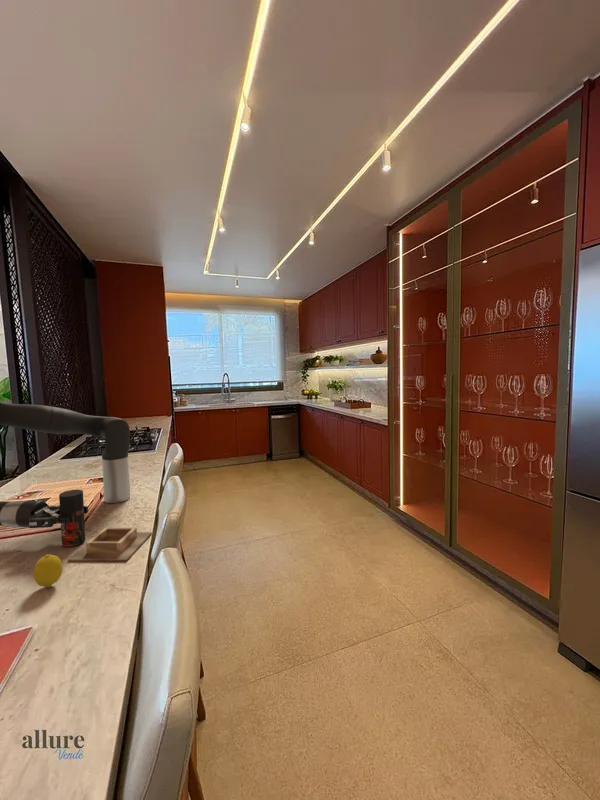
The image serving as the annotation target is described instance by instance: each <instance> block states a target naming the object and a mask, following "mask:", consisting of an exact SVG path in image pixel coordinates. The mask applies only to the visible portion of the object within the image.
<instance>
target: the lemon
mask: <svg viewBox="0 0 600 800" xmlns="http://www.w3.org/2000/svg"><path fill="white" fill-rule="evenodd" d="M62 573H63V564H62V561H61V559H60V558H59V556H57V555H54V554H49V553H48V554H45V555H44V556H42V557H41V558H39V559H38V561H37V562H36V564H35V565H34V569H33V579H34V581H35V583H36V584H37V585H38V586H40V587H46V588H50V587H52V585H54V584H55V583H57V582H58V581H59V580H60V578H61V577H62Z"/></svg>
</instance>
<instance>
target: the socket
mask: <svg viewBox="0 0 600 800" xmlns="http://www.w3.org/2000/svg"><path fill="white" fill-rule="evenodd" d="M152 535H153V533H152V532H151V531H149V532H146V531H145V532H144V531H141V532H140V531H139V532H138V529H137V527H104V528H103V529H102V530H101V531H99V532H97V534H96V535H94V536H92V538H90V540H88V541H87V542H86V543H85V545H83V547H81V548H80V549H78V550H77V551H76V552H74V554H73V555H72V556H70V557H69V558H67V562H68V563H69V562H71V563H73V562H74V563H76V562H77V563H79V562H81V563H82V562H83V563H85V562H86V563H88V562H89V563H90V562H91V563H92V562H93V563H94V562H95V563H105V562H107V563H110V562H111V563H117V562H118V563H124V562H125V563H127V562H128V560H130V559H131V557H132V556H134V554H135V553H136V552H137V551H138V550H139V549H140V548H141V547H142V545H144V543H145V542H146V541H148V539H150V537H151V536H152Z"/></svg>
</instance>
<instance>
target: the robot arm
mask: <svg viewBox="0 0 600 800" xmlns="http://www.w3.org/2000/svg"><path fill="white" fill-rule="evenodd" d="M0 425H2V426H9V427H14V428H19V429H21V430H22V429H23V430H27V431H34V432H40V433H47V434H53V435H54V434H56V435H57V434H58V435H75V434H76V435H78V434H83V435H86V436H87V435H88V436H93V437H98V438H101V439H104V446H105V447H104V449H103V451H102V452H101V462H102V465H101V466H102V483H103V502H104V503H106V504H117V503H122V502H126V501H127V500H129V499H130V498H131V485H130V484H131V483H130V465H129V451H130V446H131V444H130V443H131V433H130V432H131V429H130V426H129V423H128V422H127V420H125V419H123V418H120V417H116V416H115V417H114V416H99V415H89V414H84V413H81V412H77V411H75V410H70V409H66V408H63V407H56V406H49V405H41V404H27V403H26V404H25V403H24V404H23V403H11V402H10V403H9V402H5V401H0ZM47 503H48V502H45V501H44V500H13V501H11V500H10V501H6V500H5V501H4V500H3V501H0V527H10V528H29V529H39V528H40V529H43V528H44V529H45V528H52V527H54V525H59V524H61V523H73V522H74V515H60V504H51V505H48V504H47ZM88 513H89V506H88V505H84V515H85V514H88Z"/></svg>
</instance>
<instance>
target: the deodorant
mask: <svg viewBox="0 0 600 800" xmlns="http://www.w3.org/2000/svg"><path fill="white" fill-rule="evenodd" d="M58 497H59V498H58V500H59V501H58V502H59V505H60V515H74V522H73V523H60V531H61V532H60V533H61V534H60V535H61V545H62V546H63V547H75V546H78V545H80V544H82V543H84V542H85V540H86V527H85V526H86V525H85V521H86V520H85V514H84V506H85V505H84V504H85V503H84V490H83V489H71V490H70V489H69V490H65V491H63V492H61V493H59V496H58Z"/></svg>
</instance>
